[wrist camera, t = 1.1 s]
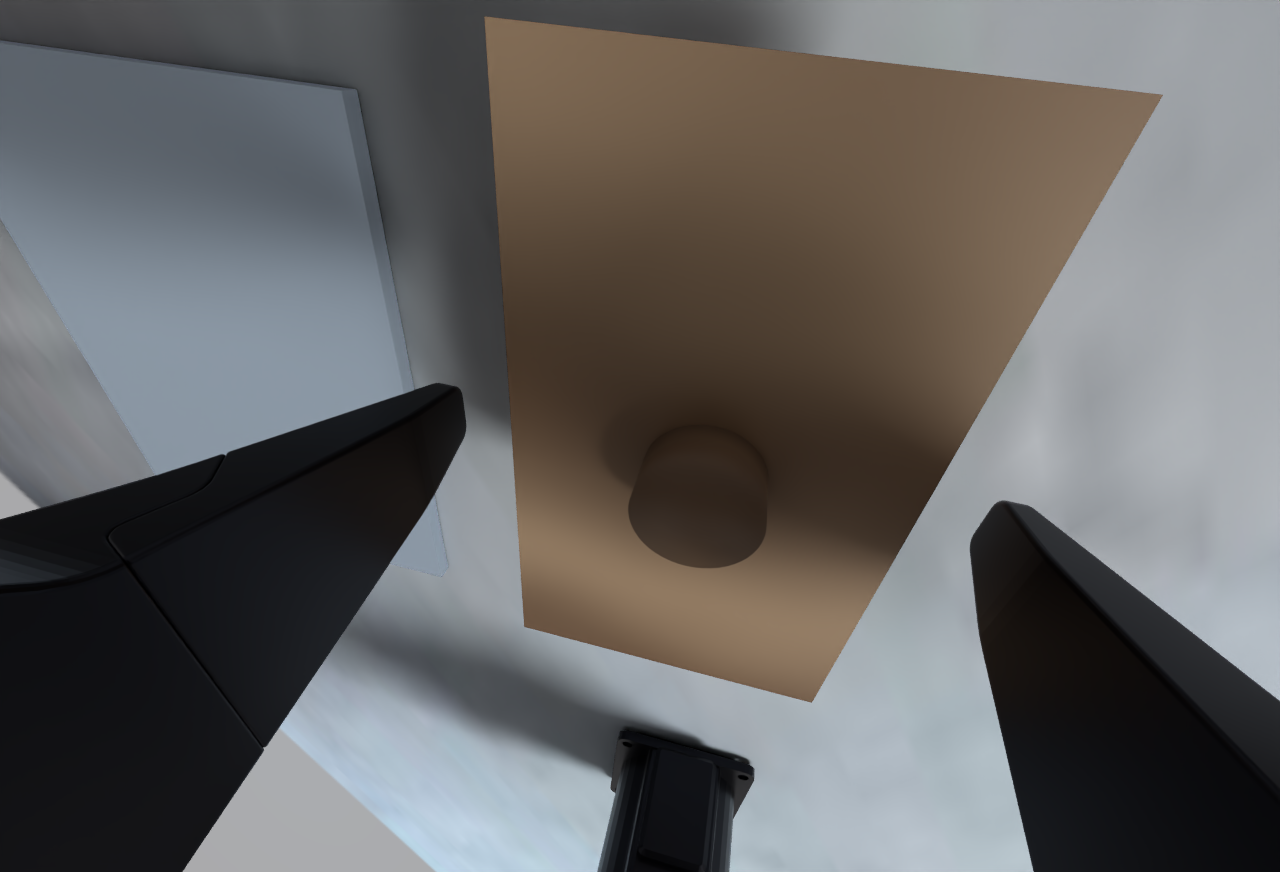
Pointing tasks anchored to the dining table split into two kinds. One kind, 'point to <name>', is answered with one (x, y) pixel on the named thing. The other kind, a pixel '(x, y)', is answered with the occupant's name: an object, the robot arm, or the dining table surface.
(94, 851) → the robot arm
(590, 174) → the lid
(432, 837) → the dining table surface
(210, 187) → the mat
